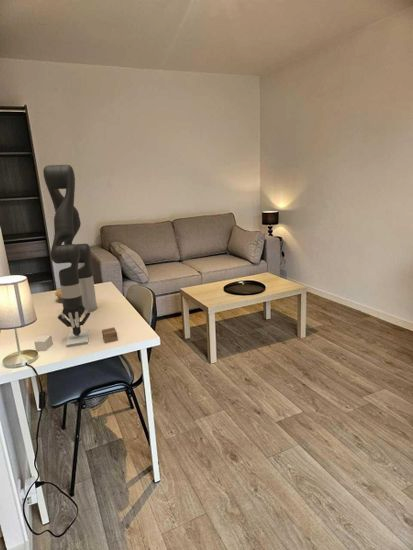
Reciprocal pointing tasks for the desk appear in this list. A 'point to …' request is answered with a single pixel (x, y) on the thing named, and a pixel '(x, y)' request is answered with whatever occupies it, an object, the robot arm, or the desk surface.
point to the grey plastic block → (43, 342)
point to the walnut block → (109, 335)
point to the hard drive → (77, 339)
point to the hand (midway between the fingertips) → (77, 335)
